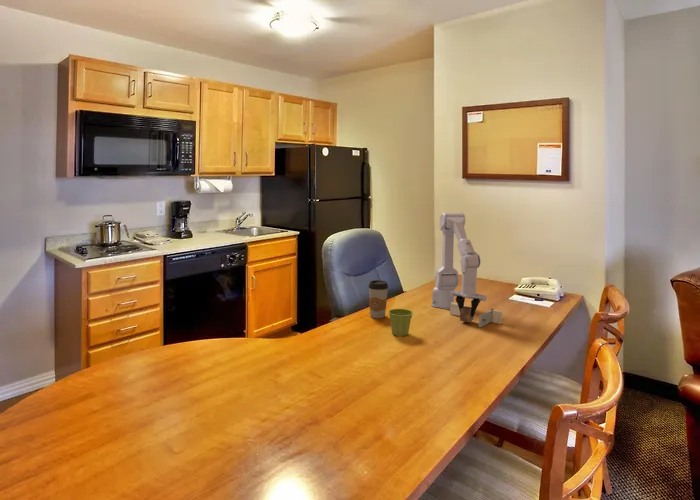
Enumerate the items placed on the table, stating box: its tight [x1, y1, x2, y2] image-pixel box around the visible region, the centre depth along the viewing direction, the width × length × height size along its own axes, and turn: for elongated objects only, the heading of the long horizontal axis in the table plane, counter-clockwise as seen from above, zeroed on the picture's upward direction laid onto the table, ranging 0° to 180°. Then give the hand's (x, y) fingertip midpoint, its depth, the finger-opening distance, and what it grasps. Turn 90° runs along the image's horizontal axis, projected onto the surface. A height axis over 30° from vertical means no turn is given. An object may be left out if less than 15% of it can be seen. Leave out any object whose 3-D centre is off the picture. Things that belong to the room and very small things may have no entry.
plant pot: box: [387, 308, 414, 337], centre depth 167 cm, size 9×9×9 cm
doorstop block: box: [459, 305, 475, 323], centre depth 182 cm, size 4×5×5 cm
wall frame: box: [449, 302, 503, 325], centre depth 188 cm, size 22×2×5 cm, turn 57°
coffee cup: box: [368, 279, 389, 319], centre depth 188 cm, size 8×8×15 cm
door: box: [478, 308, 494, 328], centre depth 180 cm, size 11×2×5 cm, turn 139°
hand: (467, 315), depth 182 cm, fingers closed on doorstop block, 4 cm apart
